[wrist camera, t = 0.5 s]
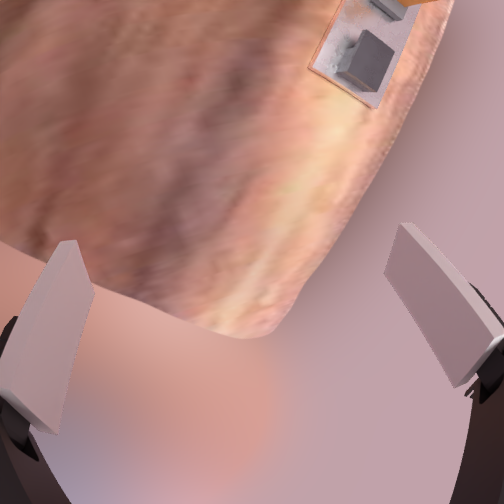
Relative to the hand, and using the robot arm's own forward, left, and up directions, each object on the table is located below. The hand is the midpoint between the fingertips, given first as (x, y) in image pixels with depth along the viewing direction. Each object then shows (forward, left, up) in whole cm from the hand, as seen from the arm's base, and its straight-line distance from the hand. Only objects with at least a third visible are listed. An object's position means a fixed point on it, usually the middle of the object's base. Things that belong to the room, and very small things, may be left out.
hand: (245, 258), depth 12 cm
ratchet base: (-19, +27, -27) cm, 42 cm away
